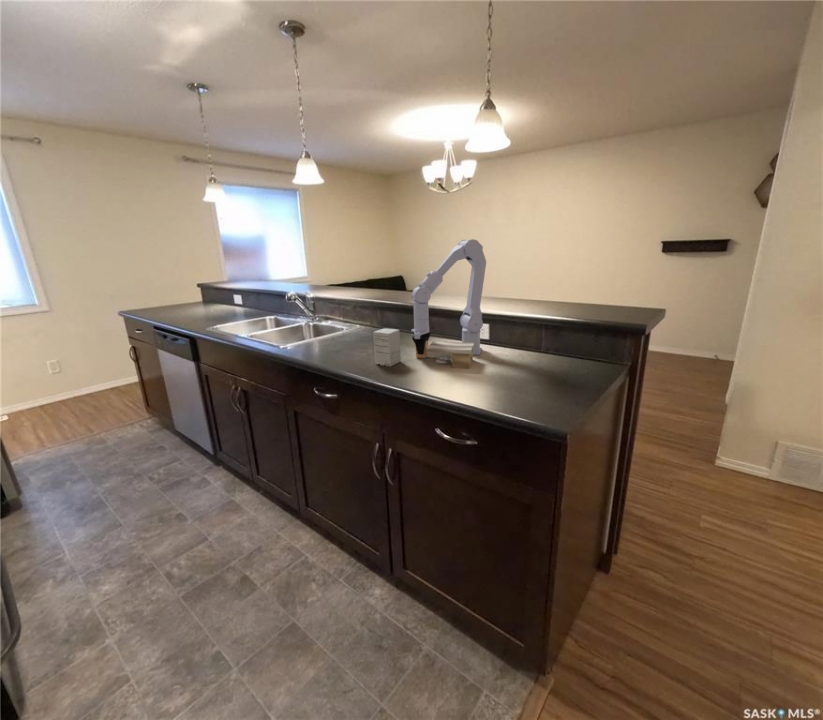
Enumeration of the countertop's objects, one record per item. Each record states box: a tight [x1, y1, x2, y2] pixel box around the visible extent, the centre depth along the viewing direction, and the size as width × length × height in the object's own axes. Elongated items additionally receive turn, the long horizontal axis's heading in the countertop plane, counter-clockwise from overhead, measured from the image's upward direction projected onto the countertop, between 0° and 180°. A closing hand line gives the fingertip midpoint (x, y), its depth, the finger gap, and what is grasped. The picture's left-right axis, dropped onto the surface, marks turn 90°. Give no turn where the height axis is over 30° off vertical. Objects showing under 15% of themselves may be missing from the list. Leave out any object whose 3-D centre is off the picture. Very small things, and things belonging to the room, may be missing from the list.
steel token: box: [435, 357, 452, 365], centre depth 146 cm, size 6×6×2 cm
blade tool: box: [415, 340, 452, 359], centre depth 151 cm, size 4×14×6 cm, turn 75°
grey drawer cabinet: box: [372, 327, 402, 367], centre depth 145 cm, size 7×7×13 cm
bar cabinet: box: [426, 341, 474, 369], centre depth 144 cm, size 11×16×7 cm
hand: (422, 352), depth 153 cm, fingers closed on blade tool, 4 cm apart
